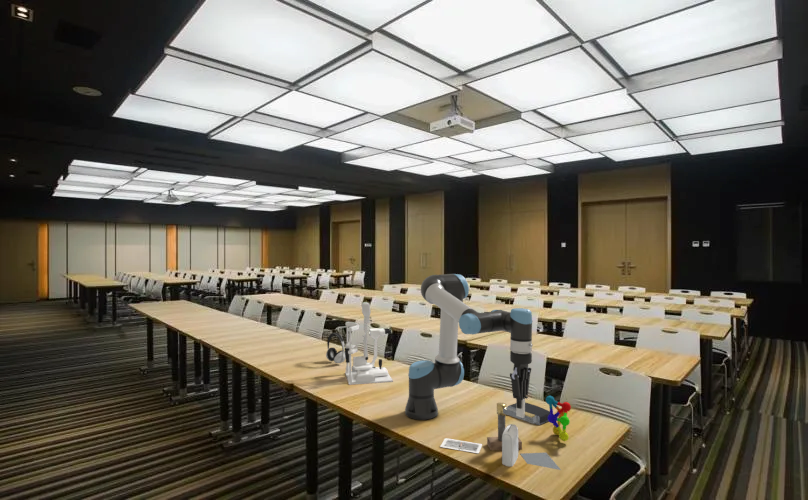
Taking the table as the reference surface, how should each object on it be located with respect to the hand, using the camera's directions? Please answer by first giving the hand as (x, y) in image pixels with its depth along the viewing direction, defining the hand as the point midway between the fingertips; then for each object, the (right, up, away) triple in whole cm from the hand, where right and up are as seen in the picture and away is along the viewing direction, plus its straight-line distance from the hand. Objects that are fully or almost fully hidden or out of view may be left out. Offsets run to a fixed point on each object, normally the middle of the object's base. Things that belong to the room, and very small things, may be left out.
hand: (520, 416), depth 149 cm
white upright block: (-4, -16, -2) cm, 16 cm away
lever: (-1, -2, +4) cm, 5 cm away
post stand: (-4, -15, +8) cm, 18 cm away
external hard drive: (+15, -16, +39) cm, 45 cm away
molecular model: (+21, -16, +16) cm, 31 cm away
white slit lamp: (-64, -16, +97) cm, 118 cm away
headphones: (-89, -16, +131) cm, 159 cm away
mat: (+6, -15, -4) cm, 17 cm away
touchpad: (-20, -16, +9) cm, 27 cm away
